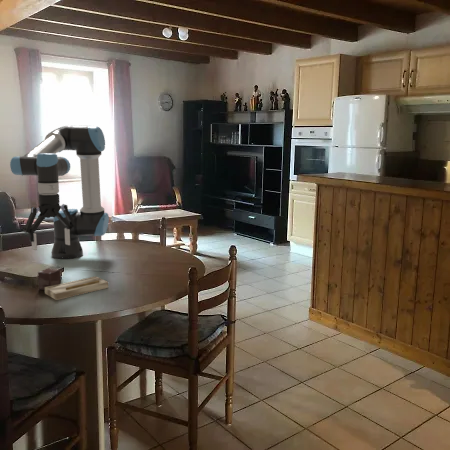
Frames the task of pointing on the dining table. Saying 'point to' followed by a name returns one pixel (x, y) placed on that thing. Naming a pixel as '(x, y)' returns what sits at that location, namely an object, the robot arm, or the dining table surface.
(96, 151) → the robot arm
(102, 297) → the dining table surface
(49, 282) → the box
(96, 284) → the board
